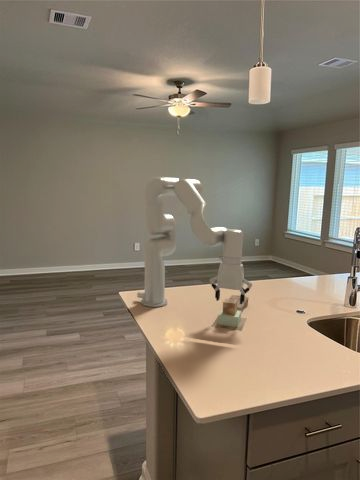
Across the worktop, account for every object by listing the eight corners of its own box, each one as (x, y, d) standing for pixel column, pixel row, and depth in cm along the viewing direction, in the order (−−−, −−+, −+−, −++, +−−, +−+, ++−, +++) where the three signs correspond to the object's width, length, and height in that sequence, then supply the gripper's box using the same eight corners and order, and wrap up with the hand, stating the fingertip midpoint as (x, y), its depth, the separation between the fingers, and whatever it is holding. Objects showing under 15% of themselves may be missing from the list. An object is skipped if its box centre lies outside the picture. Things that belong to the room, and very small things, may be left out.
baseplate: (211, 328, 143) (211, 326, 143) (218, 316, 156) (218, 314, 156) (241, 333, 140) (241, 330, 139) (246, 320, 153) (246, 318, 153)
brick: (240, 316, 158) (241, 306, 157) (222, 314, 161) (222, 303, 160) (248, 305, 173) (248, 296, 172) (231, 303, 176) (231, 294, 176)
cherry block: (222, 314, 146) (223, 302, 145) (224, 310, 150) (225, 298, 150) (234, 315, 144) (235, 303, 143) (236, 311, 149) (237, 299, 148)
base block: (217, 324, 145) (218, 314, 145) (222, 317, 153) (222, 308, 152) (237, 327, 143) (238, 317, 142) (240, 320, 150) (241, 310, 150)
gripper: (208, 260, 143) (206, 301, 146) (252, 264, 138) (249, 307, 141) (212, 256, 150) (210, 296, 153) (254, 260, 145) (252, 301, 148)
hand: (229, 301), depth 147 cm, fingers open, 9 cm apart
